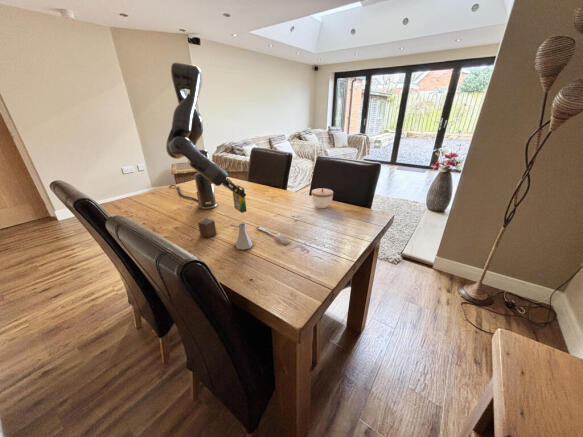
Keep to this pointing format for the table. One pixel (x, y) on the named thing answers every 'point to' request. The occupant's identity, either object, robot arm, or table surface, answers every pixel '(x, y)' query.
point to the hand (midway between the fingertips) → (241, 193)
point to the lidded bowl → (322, 197)
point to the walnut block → (207, 228)
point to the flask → (243, 238)
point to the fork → (274, 234)
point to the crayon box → (239, 201)
